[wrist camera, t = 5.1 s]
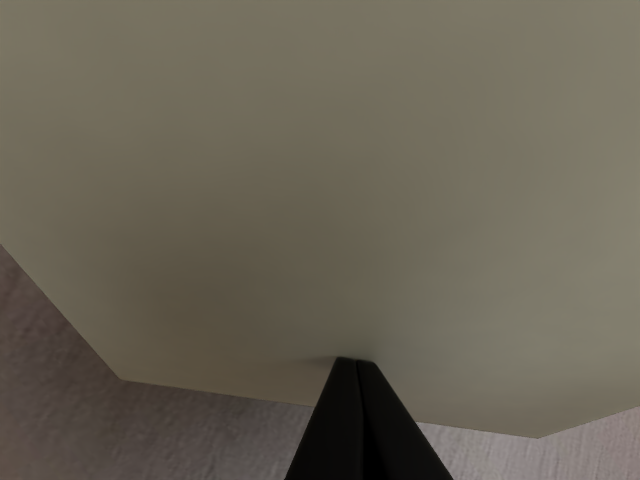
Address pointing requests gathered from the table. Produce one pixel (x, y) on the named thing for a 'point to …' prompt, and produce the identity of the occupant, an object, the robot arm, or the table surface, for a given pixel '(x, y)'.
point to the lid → (337, 196)
